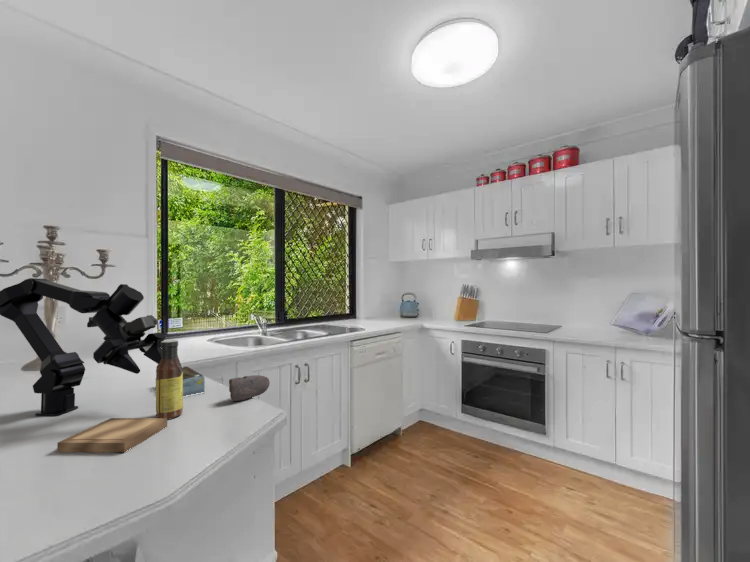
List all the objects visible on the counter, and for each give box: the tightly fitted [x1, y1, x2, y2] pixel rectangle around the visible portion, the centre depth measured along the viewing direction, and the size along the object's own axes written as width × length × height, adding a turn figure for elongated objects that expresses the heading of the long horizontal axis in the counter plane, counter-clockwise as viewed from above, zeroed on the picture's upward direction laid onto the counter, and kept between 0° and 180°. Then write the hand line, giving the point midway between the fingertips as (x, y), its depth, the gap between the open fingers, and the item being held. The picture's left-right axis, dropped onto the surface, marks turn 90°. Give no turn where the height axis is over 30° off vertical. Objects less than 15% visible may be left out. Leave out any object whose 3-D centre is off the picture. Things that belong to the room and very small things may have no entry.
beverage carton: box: [182, 366, 206, 396], centre depth 117 cm, size 8×19×7 cm, turn 43°
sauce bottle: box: [155, 339, 184, 420], centre depth 92 cm, size 7×6×20 cm
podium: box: [56, 417, 168, 454], centre depth 78 cm, size 14×14×2 cm
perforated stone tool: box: [228, 374, 271, 402], centre depth 108 cm, size 15×5×7 cm, turn 144°
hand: (152, 368), depth 92 cm, fingers open, 9 cm apart
